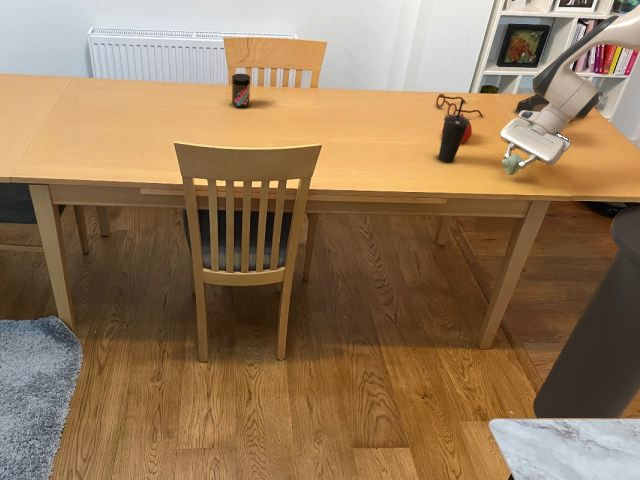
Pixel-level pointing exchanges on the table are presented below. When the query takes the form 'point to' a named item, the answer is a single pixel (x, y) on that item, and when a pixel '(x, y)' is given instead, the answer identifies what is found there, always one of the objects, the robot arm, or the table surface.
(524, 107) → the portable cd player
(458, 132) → the drinking cup
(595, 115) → the table surface
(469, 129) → the red tomato
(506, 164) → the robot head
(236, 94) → the supplement container
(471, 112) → the glasses
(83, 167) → the table surface
